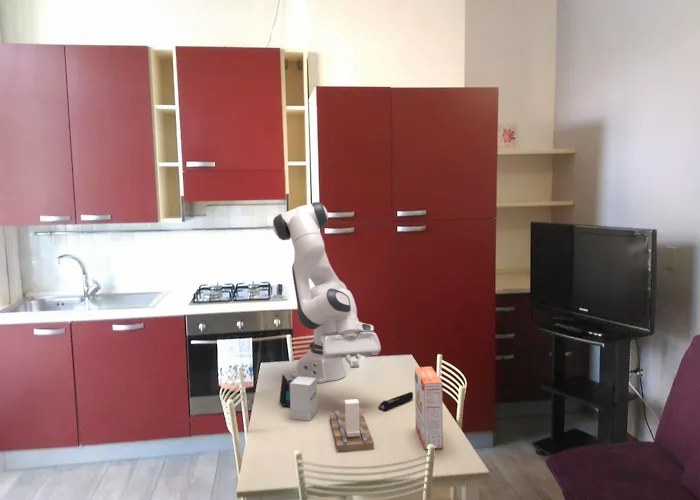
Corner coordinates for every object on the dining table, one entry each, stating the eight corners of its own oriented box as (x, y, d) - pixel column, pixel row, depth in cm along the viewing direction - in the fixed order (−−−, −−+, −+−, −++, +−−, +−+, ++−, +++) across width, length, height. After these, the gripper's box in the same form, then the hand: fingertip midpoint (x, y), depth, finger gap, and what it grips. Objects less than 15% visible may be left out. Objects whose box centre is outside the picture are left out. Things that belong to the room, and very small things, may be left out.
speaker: (277, 407, 189) (279, 379, 188) (279, 401, 195) (281, 374, 194) (298, 409, 189) (300, 381, 188) (300, 403, 195) (302, 376, 194)
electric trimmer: (415, 401, 194) (415, 392, 194) (384, 412, 184) (384, 404, 184) (408, 398, 197) (408, 390, 196) (377, 409, 187) (377, 400, 187)
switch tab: (344, 429, 166) (344, 398, 165) (357, 428, 167) (357, 397, 166) (347, 437, 161) (346, 405, 160) (360, 436, 162) (359, 404, 161)
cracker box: (414, 428, 171) (414, 366, 169) (432, 427, 172) (432, 365, 169) (423, 450, 157) (423, 382, 155) (443, 449, 158) (443, 381, 155)
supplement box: (310, 421, 178) (309, 385, 177) (290, 418, 180) (288, 383, 179) (318, 412, 185) (317, 377, 184) (298, 409, 187) (297, 375, 186)
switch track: (329, 419, 179) (329, 411, 179) (361, 417, 180) (361, 408, 180) (337, 452, 157) (337, 442, 157) (373, 448, 159) (373, 439, 158)
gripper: (320, 328, 183) (326, 365, 175) (377, 325, 188) (385, 361, 180) (318, 337, 188) (323, 373, 180) (373, 333, 193) (381, 369, 185)
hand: (355, 367), depth 180 cm, fingers closed
